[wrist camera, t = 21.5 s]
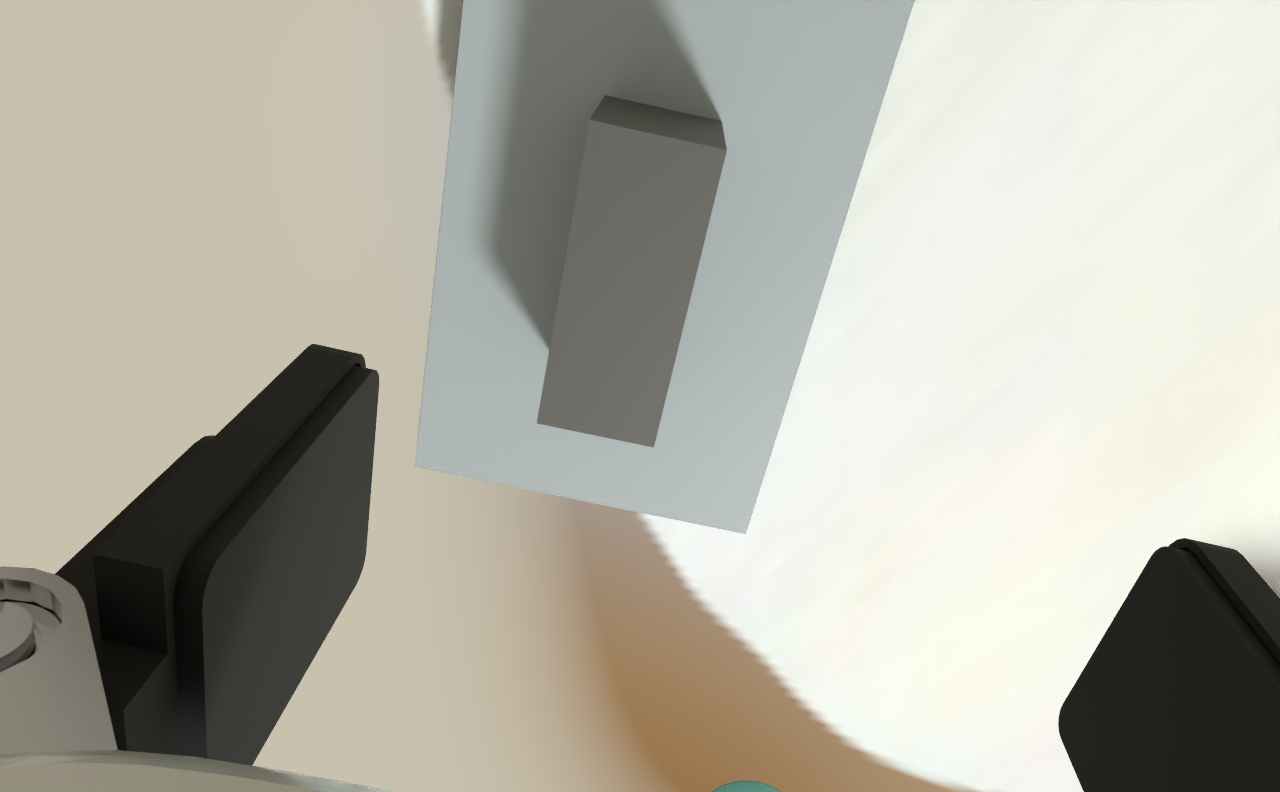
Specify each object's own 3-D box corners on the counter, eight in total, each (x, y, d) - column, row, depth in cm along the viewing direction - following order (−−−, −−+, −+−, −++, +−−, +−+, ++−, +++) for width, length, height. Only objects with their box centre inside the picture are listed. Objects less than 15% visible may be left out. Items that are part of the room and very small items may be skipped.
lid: (742, 504, 39) (752, 613, 32) (428, 440, 38) (375, 538, 32) (911, -41, 29) (973, -41, 23) (493, -139, 29) (435, -166, 22)
